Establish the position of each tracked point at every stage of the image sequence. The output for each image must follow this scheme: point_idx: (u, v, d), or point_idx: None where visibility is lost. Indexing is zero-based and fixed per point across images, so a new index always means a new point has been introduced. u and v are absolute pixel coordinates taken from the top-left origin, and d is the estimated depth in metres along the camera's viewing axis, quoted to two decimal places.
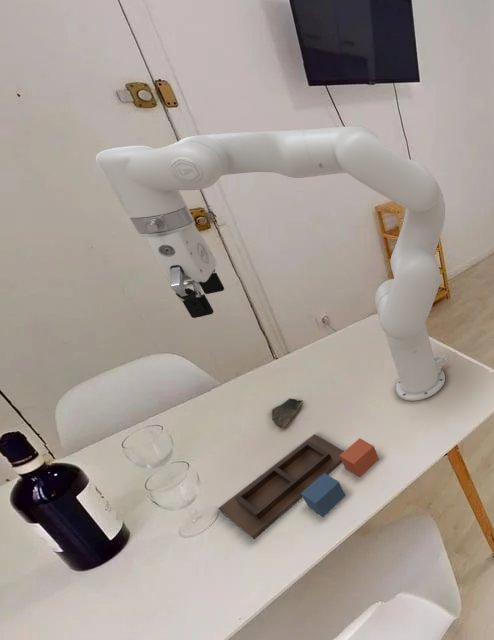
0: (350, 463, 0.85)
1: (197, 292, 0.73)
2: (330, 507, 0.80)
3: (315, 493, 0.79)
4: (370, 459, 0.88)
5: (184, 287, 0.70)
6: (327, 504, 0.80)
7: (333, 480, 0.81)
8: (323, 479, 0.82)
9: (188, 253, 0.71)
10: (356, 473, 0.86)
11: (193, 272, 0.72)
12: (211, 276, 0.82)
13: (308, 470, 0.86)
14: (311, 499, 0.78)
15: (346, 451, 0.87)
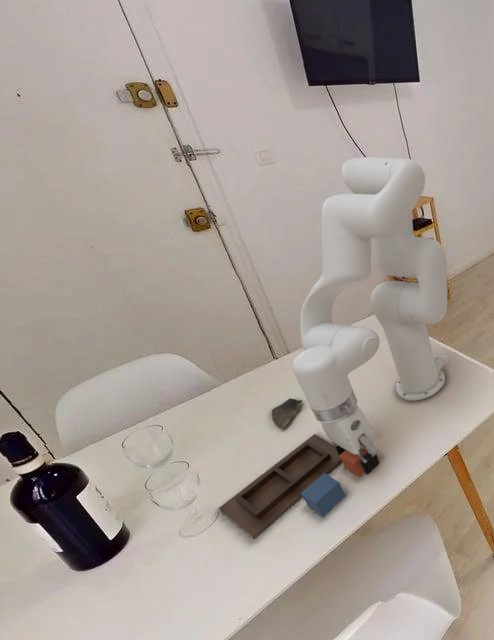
0: (350, 463, 0.85)
1: None
2: (330, 507, 0.80)
3: (315, 493, 0.79)
4: None
5: None
6: (327, 504, 0.80)
7: (333, 480, 0.81)
8: (323, 479, 0.82)
9: (367, 420, 0.83)
10: (356, 473, 0.86)
11: (371, 434, 0.84)
12: None
13: (308, 470, 0.86)
14: (311, 499, 0.78)
15: (346, 451, 0.87)
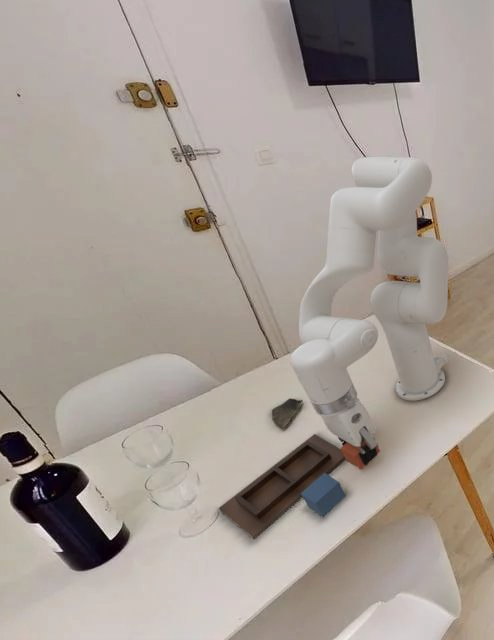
0: (351, 455, 0.85)
1: None
2: (330, 507, 0.80)
3: (315, 493, 0.79)
4: None
5: None
6: (327, 504, 0.80)
7: (333, 480, 0.81)
8: (323, 479, 0.82)
9: None
10: (358, 465, 0.87)
11: (372, 427, 0.84)
12: None
13: (308, 470, 0.86)
14: (311, 499, 0.78)
15: (347, 444, 0.87)
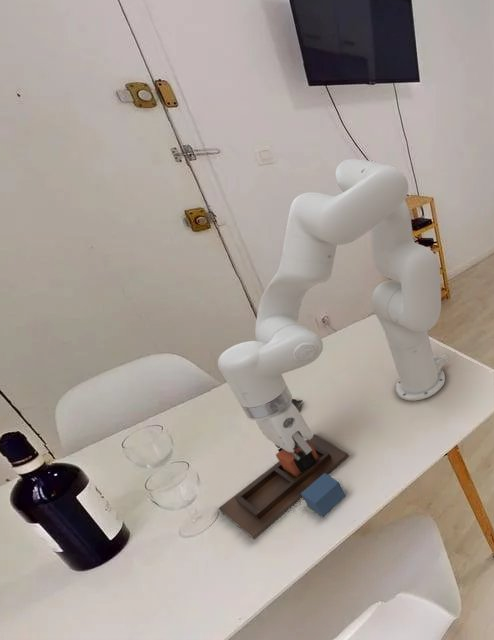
0: (286, 462, 0.84)
1: None
2: (330, 507, 0.80)
3: (315, 493, 0.79)
4: None
5: None
6: (327, 504, 0.80)
7: (333, 480, 0.81)
8: (323, 479, 0.82)
9: (302, 418, 0.81)
10: (293, 472, 0.85)
11: (307, 432, 0.82)
12: None
13: (308, 470, 0.86)
14: (311, 499, 0.78)
15: (283, 450, 0.86)
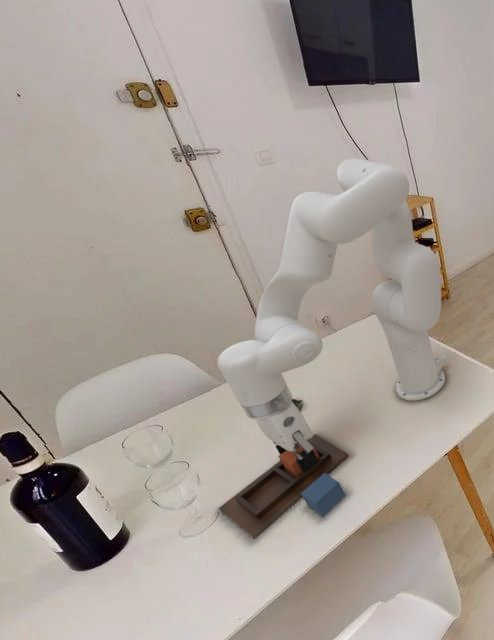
0: (288, 464, 0.84)
1: None
2: (330, 507, 0.80)
3: (315, 493, 0.79)
4: None
5: None
6: (327, 504, 0.80)
7: (333, 480, 0.81)
8: (323, 479, 0.82)
9: (302, 417, 0.81)
10: (295, 474, 0.85)
11: (307, 431, 0.82)
12: None
13: (308, 470, 0.86)
14: (311, 499, 0.78)
15: (286, 452, 0.86)
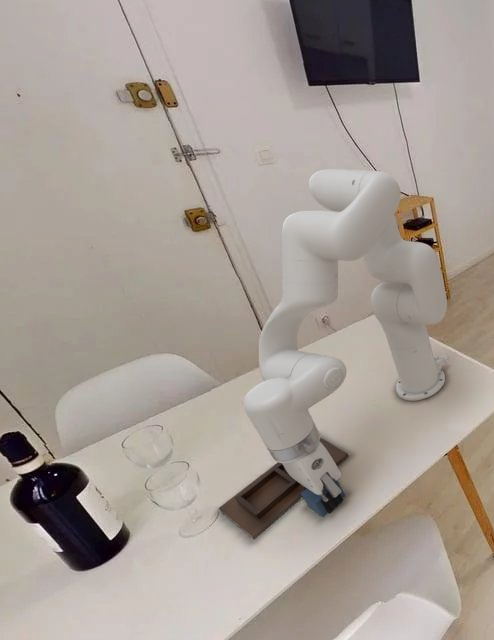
0: None
1: None
2: None
3: None
4: None
5: None
6: None
7: (333, 480, 0.81)
8: None
9: (331, 457, 0.76)
10: None
11: (336, 472, 0.77)
12: None
13: None
14: (311, 499, 0.78)
15: None
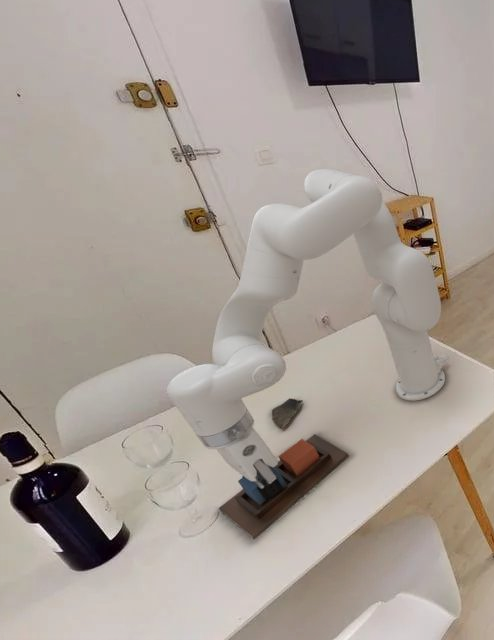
0: (288, 464, 0.84)
1: (274, 475, 0.79)
2: None
3: (252, 481, 0.79)
4: (311, 460, 0.87)
5: None
6: None
7: (272, 468, 0.81)
8: None
9: (265, 444, 0.76)
10: (295, 474, 0.85)
11: (271, 459, 0.77)
12: None
13: (308, 470, 0.86)
14: (247, 486, 0.78)
15: (286, 452, 0.86)
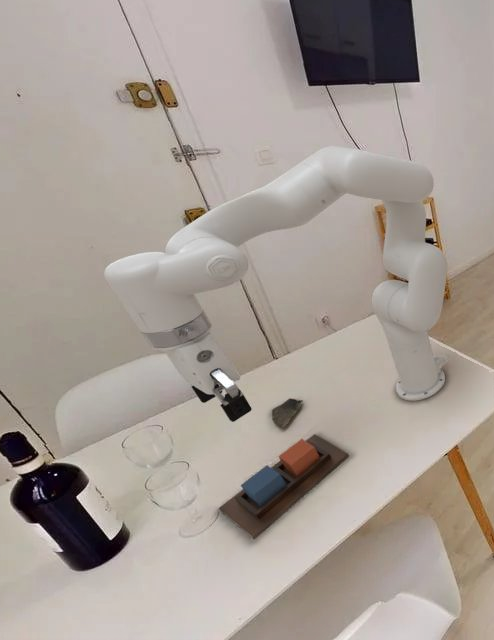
0: (288, 464, 0.84)
1: None
2: None
3: (255, 485, 0.80)
4: (311, 460, 0.87)
5: None
6: (267, 496, 0.80)
7: (274, 472, 0.82)
8: (265, 471, 0.82)
9: None
10: (295, 474, 0.85)
11: (232, 371, 0.68)
12: None
13: (308, 470, 0.86)
14: (250, 491, 0.79)
15: (286, 452, 0.86)
